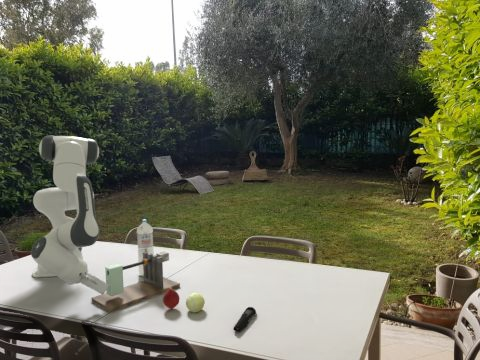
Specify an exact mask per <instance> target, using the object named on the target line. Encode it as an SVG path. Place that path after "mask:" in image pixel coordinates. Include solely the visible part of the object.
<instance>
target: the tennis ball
mask: <svg viewBox="0 0 480 360" xmlns="http://www.w3.org/2000/svg"><path fill="white" fill-rule="evenodd" d="M185 306H186V308H187V310H188V311H190V312H191V313H194V312H197V313H199V312H200V311H201V310H202V311H203V308H204V306H205V298H204V297H203V296H202V295H201V294H200V293H198V292H193V293H191V294H189V295H188V296H187V297H186V300H185Z"/></svg>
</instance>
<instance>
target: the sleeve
mask: <svg viewBox="0 0 480 360" xmlns="http://www.w3.org/2000/svg"><path fill="white" fill-rule="evenodd" d="M123 267H124V266H123V265H122V264H119V263H115V264H110V265H107V266H105V267H104V268H105V283H106V284H108V286H109V287H108V288H107V290H106V293H107V294H108V295H110V296H114V295H117V294H120V293H123V292H124V287H125V286H124V270H123ZM108 271H109V273H108Z"/></svg>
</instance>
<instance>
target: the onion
mask: <svg viewBox="0 0 480 360" xmlns="http://www.w3.org/2000/svg"><path fill="white" fill-rule="evenodd" d="M180 299H181V298H180V295H179V293H178V292H177V290H176V289H172V288H171V287H170V288H169V290H168V291H167V292H165V293H163V297H162V303H163V304H164V306H165V307H166V308H167V309H169V310H174V308H176V307H177V306H178V305H179V303H180Z"/></svg>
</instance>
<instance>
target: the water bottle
mask: <svg viewBox="0 0 480 360" xmlns="http://www.w3.org/2000/svg"><path fill="white" fill-rule="evenodd" d="M141 221H142V223H141V224H140V225H138V227H137V228H136V234H137V237H136V238H137V260H138V261H137V263H138V262H141V261H142V260H143V253H144V252H148V254H150V253H151V254H153V255H155V253H154V251H155V250H154V237H153V236H154V235H153V233H154V229H153V227H152V225H151V224H149V223H147V221H148V220H147V219H145V218H144V219H142V220H141ZM138 275H139V276H140V277H142V278H144V271H143V264H142V265H139V266H138Z"/></svg>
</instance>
